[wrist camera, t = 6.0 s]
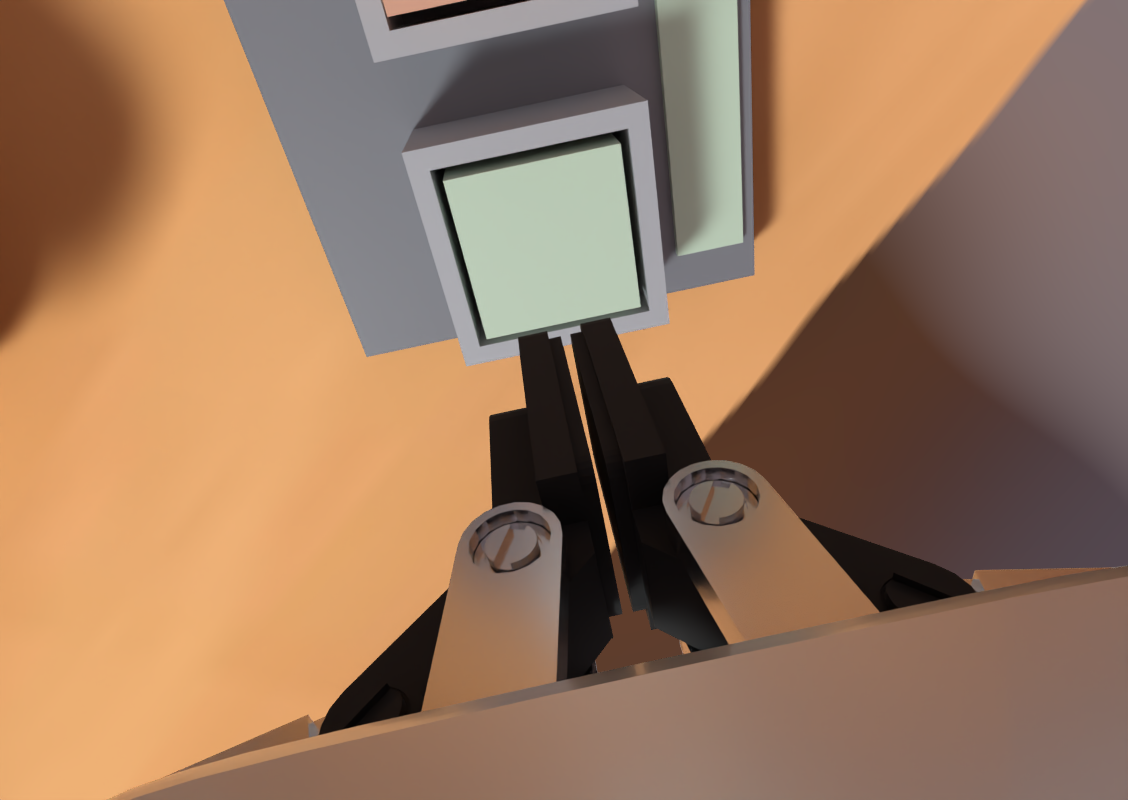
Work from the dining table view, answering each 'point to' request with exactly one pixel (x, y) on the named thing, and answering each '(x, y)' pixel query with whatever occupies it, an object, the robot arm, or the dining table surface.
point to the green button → (546, 234)
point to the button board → (505, 139)
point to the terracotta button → (412, 5)
